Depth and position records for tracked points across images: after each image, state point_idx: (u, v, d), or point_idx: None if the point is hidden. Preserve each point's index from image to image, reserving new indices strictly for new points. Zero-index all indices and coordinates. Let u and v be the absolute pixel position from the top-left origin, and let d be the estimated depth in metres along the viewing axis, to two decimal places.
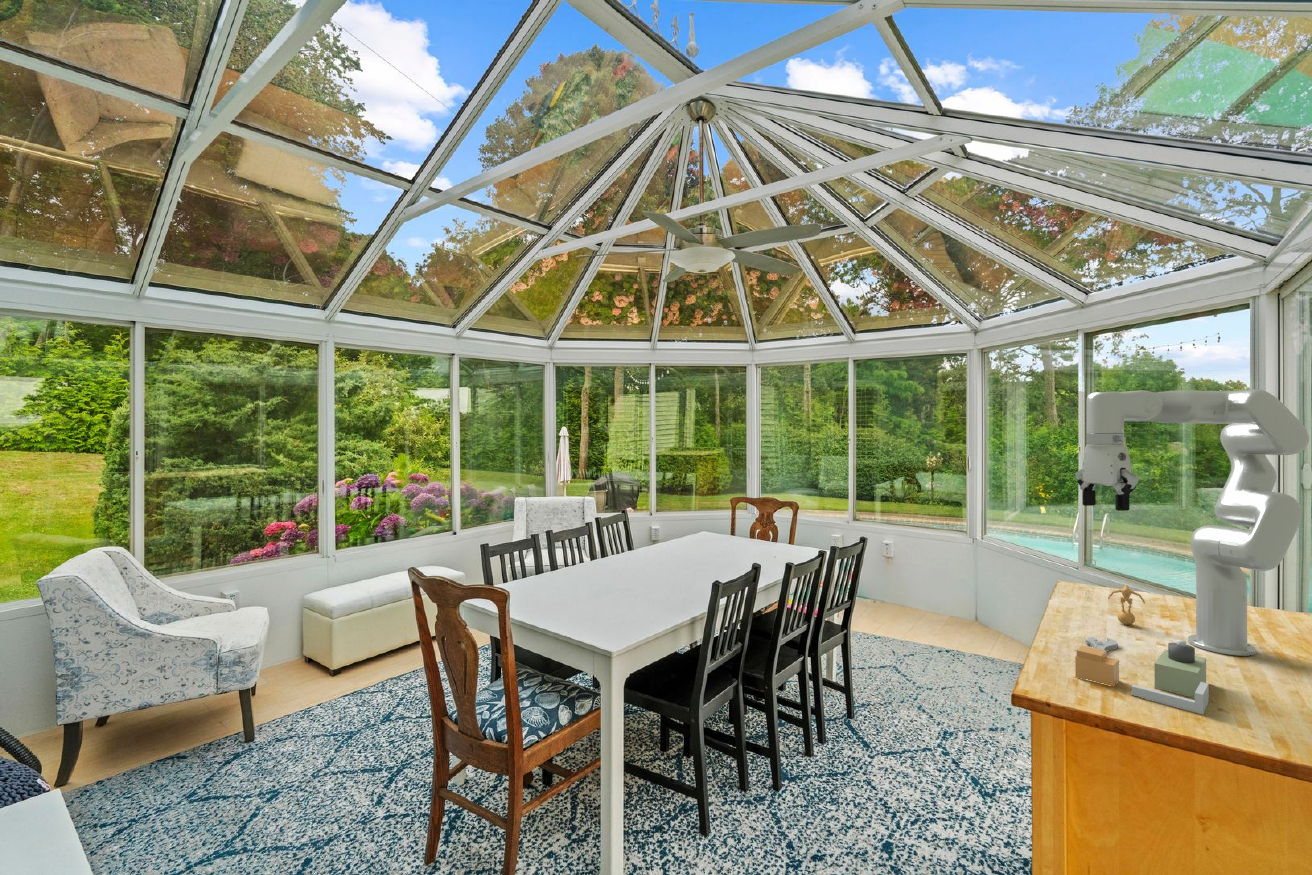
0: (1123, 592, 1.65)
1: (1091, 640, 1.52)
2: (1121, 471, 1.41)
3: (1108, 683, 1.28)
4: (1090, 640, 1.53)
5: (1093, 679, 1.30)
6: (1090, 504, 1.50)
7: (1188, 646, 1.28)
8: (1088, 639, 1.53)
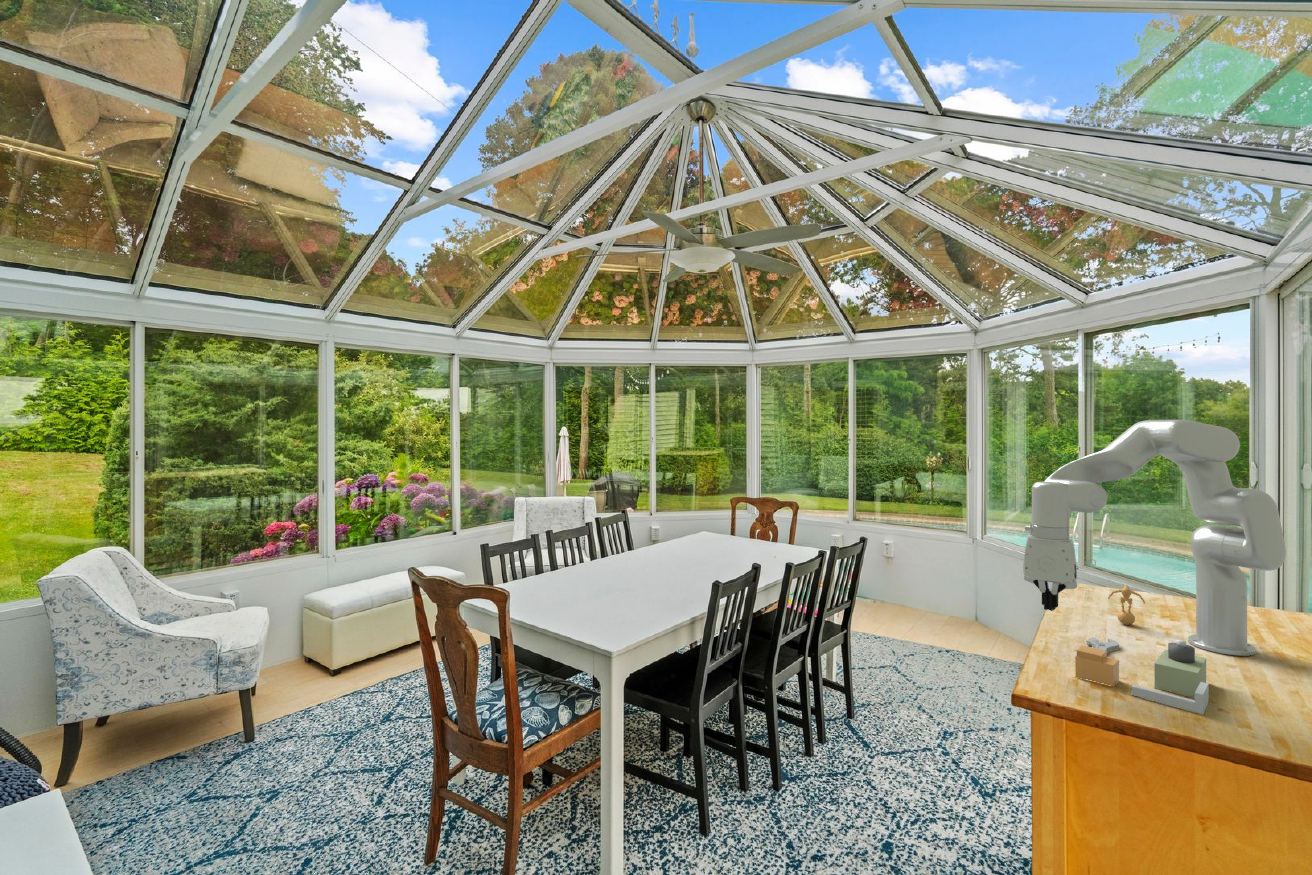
0: (1123, 592, 1.65)
1: (1092, 641, 1.52)
2: None
3: (1108, 683, 1.28)
4: (1091, 641, 1.52)
5: (1093, 679, 1.30)
6: None
7: (1188, 646, 1.28)
8: (1089, 640, 1.53)
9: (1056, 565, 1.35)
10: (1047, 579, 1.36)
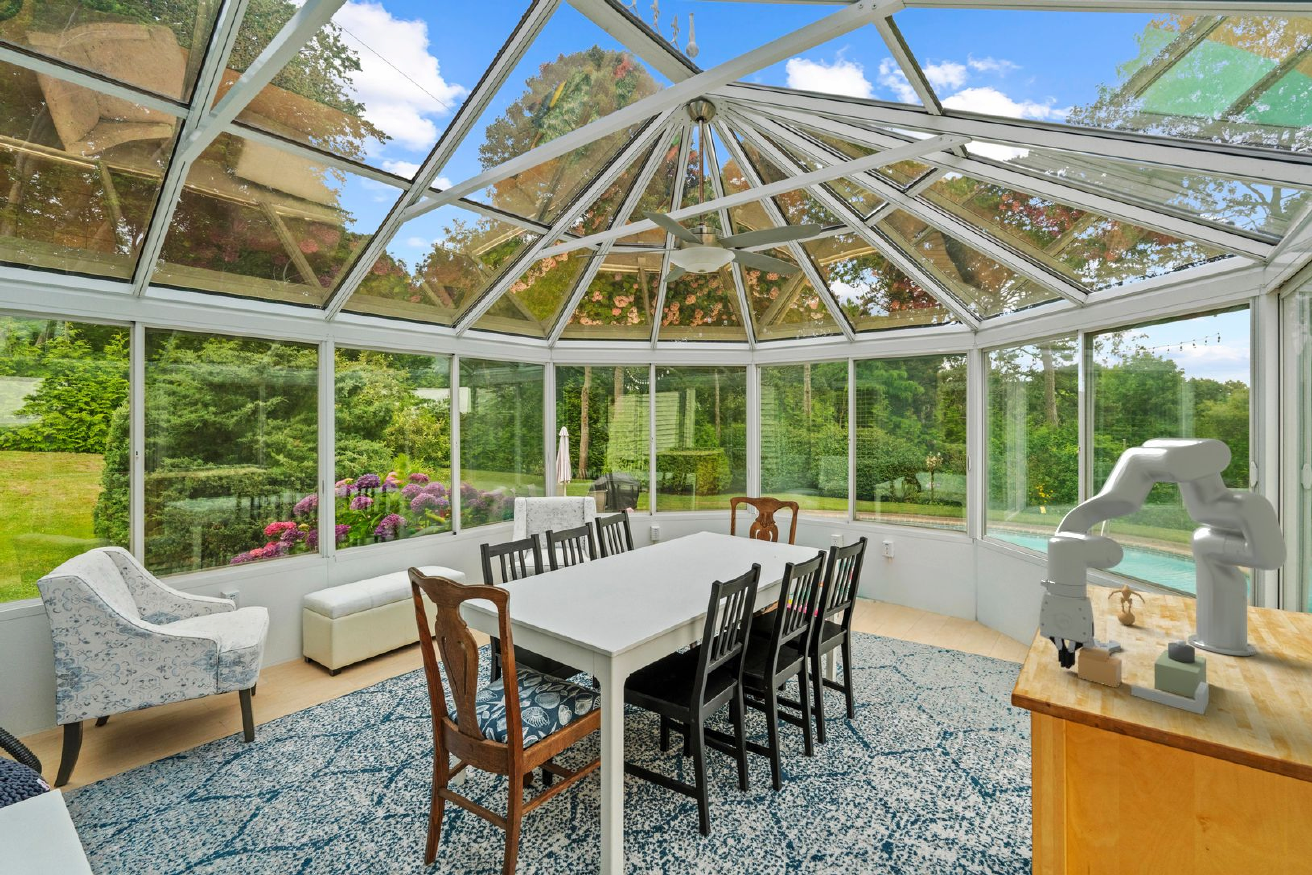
0: (1123, 592, 1.65)
1: (1094, 642, 1.51)
2: None
3: (1111, 683, 1.28)
4: None
5: (1096, 679, 1.30)
6: None
7: (1188, 646, 1.28)
8: None
9: (1073, 623, 1.33)
10: (1064, 637, 1.34)
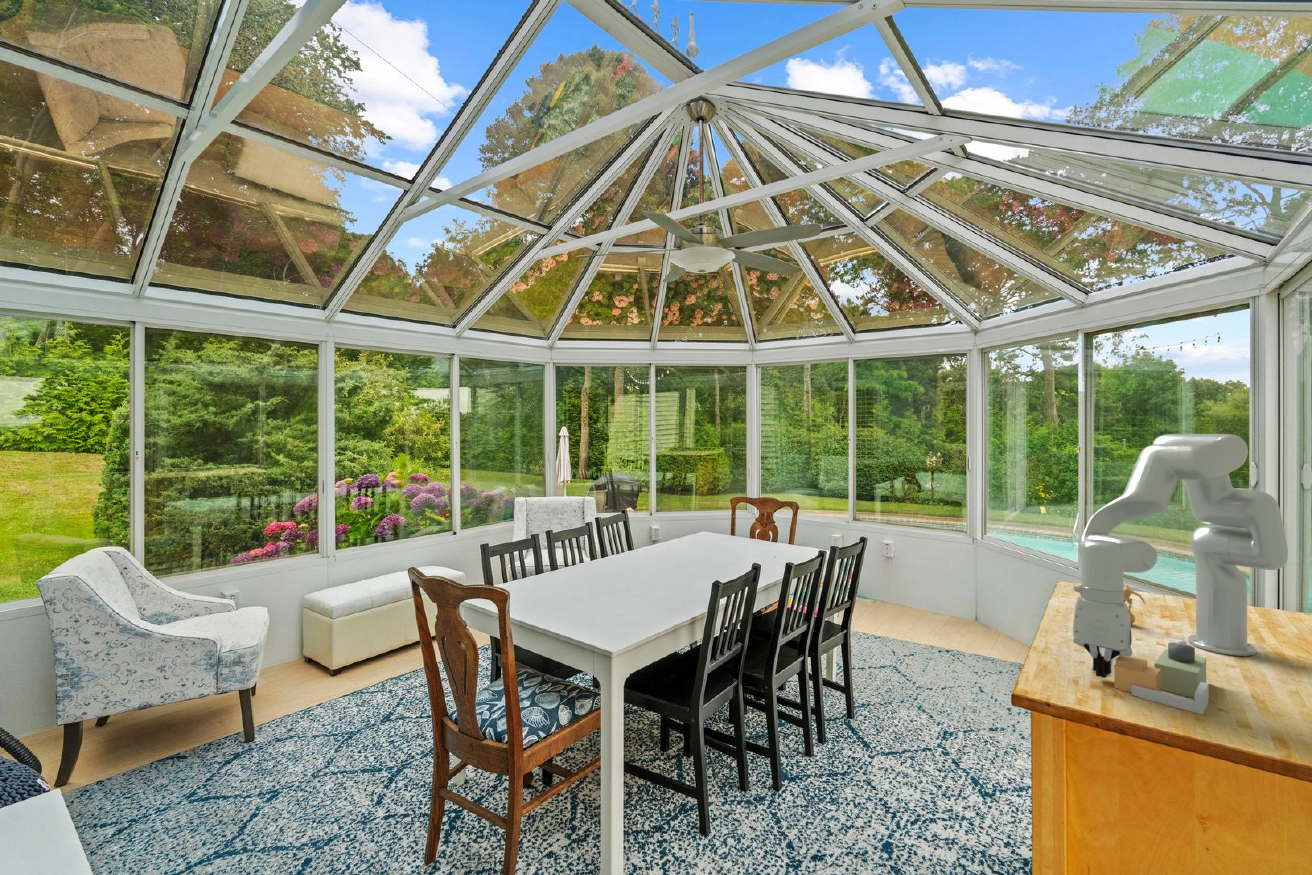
0: (1123, 592, 1.65)
1: None
2: None
3: None
4: None
5: None
6: None
7: (1188, 646, 1.28)
8: None
9: (1110, 631, 1.27)
10: (1100, 645, 1.29)
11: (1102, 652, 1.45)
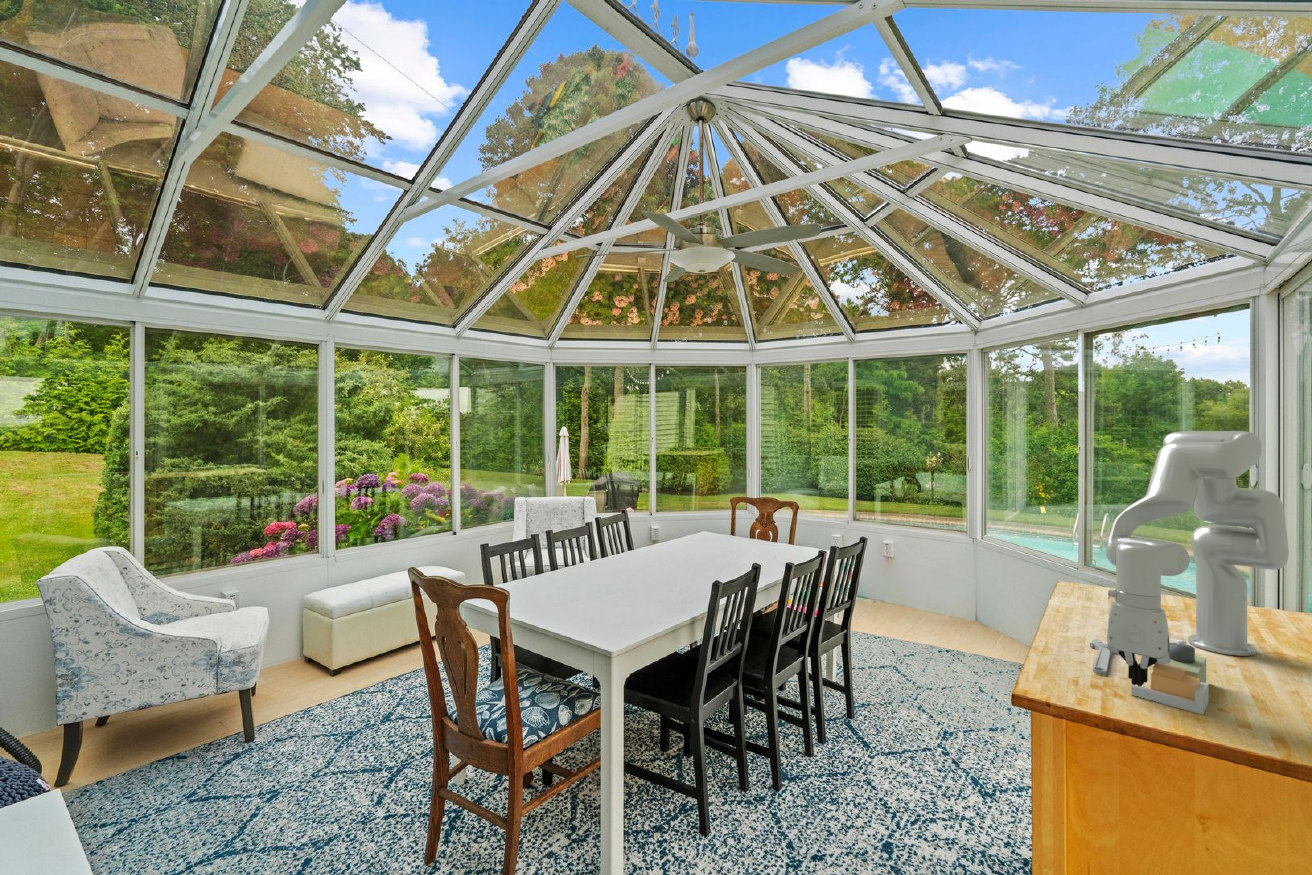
0: None
1: (1096, 643, 1.51)
2: None
3: None
4: (1095, 643, 1.51)
5: None
6: None
7: (1188, 646, 1.28)
8: (1092, 642, 1.51)
9: (1147, 637, 1.23)
10: (1136, 652, 1.24)
11: (1103, 652, 1.44)
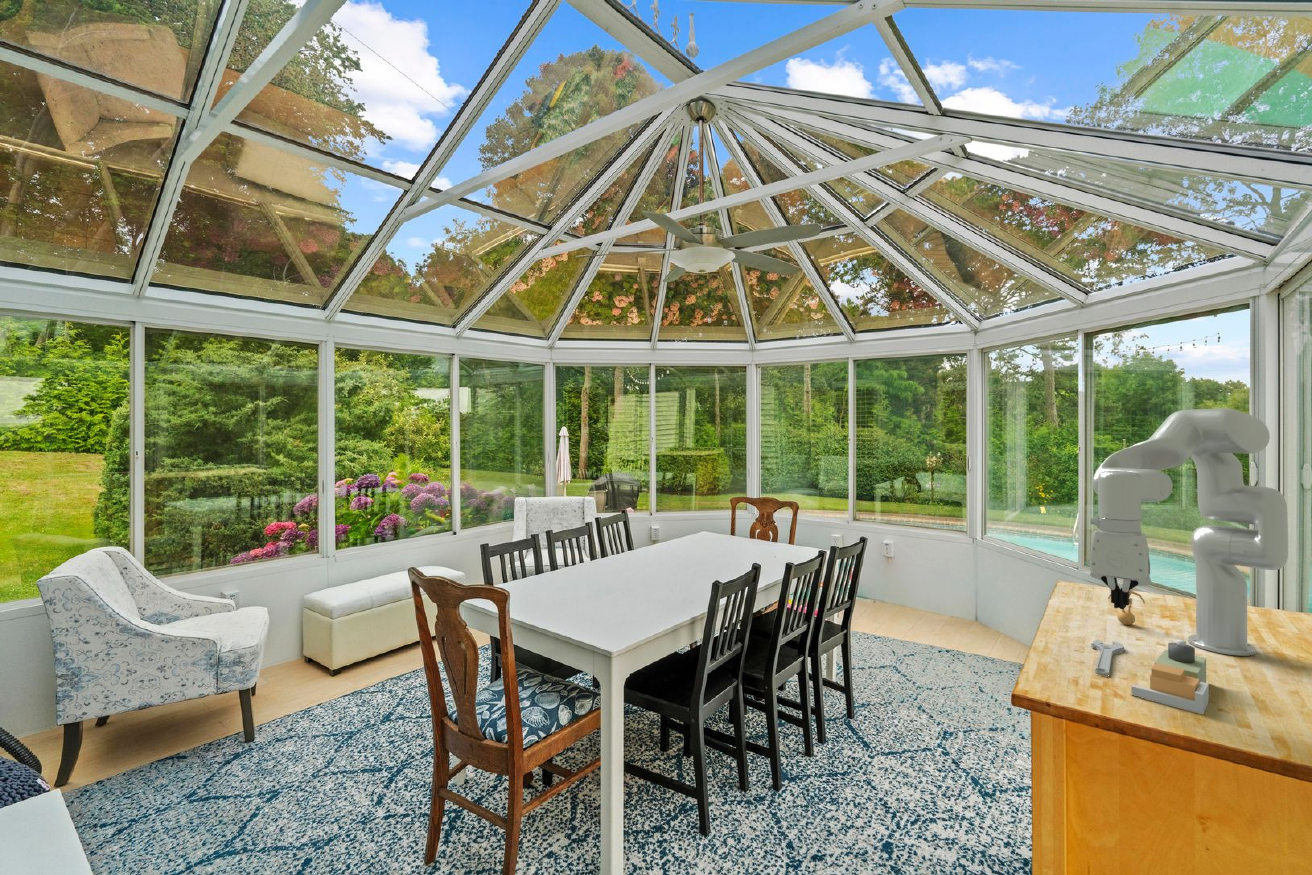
0: None
1: (1097, 643, 1.50)
2: None
3: None
4: (1096, 643, 1.50)
5: None
6: None
7: (1188, 646, 1.28)
8: (1094, 642, 1.51)
9: (1128, 560, 1.26)
10: (1118, 575, 1.27)
11: (1105, 653, 1.44)
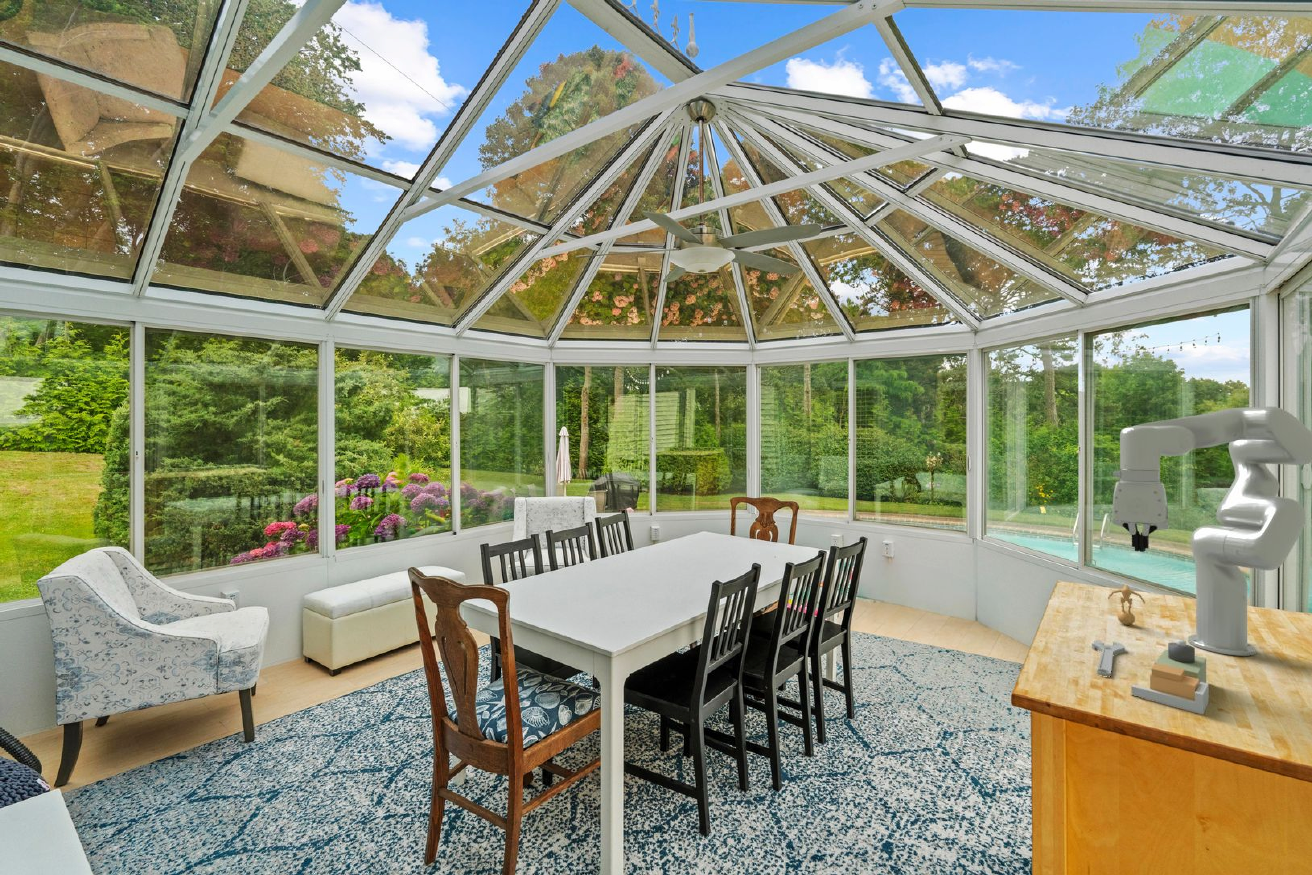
0: (1123, 592, 1.65)
1: (1098, 644, 1.50)
2: None
3: None
4: (1097, 644, 1.50)
5: None
6: None
7: (1188, 646, 1.28)
8: (1095, 643, 1.50)
9: (1148, 507, 1.39)
10: (1138, 521, 1.40)
11: (1106, 654, 1.44)
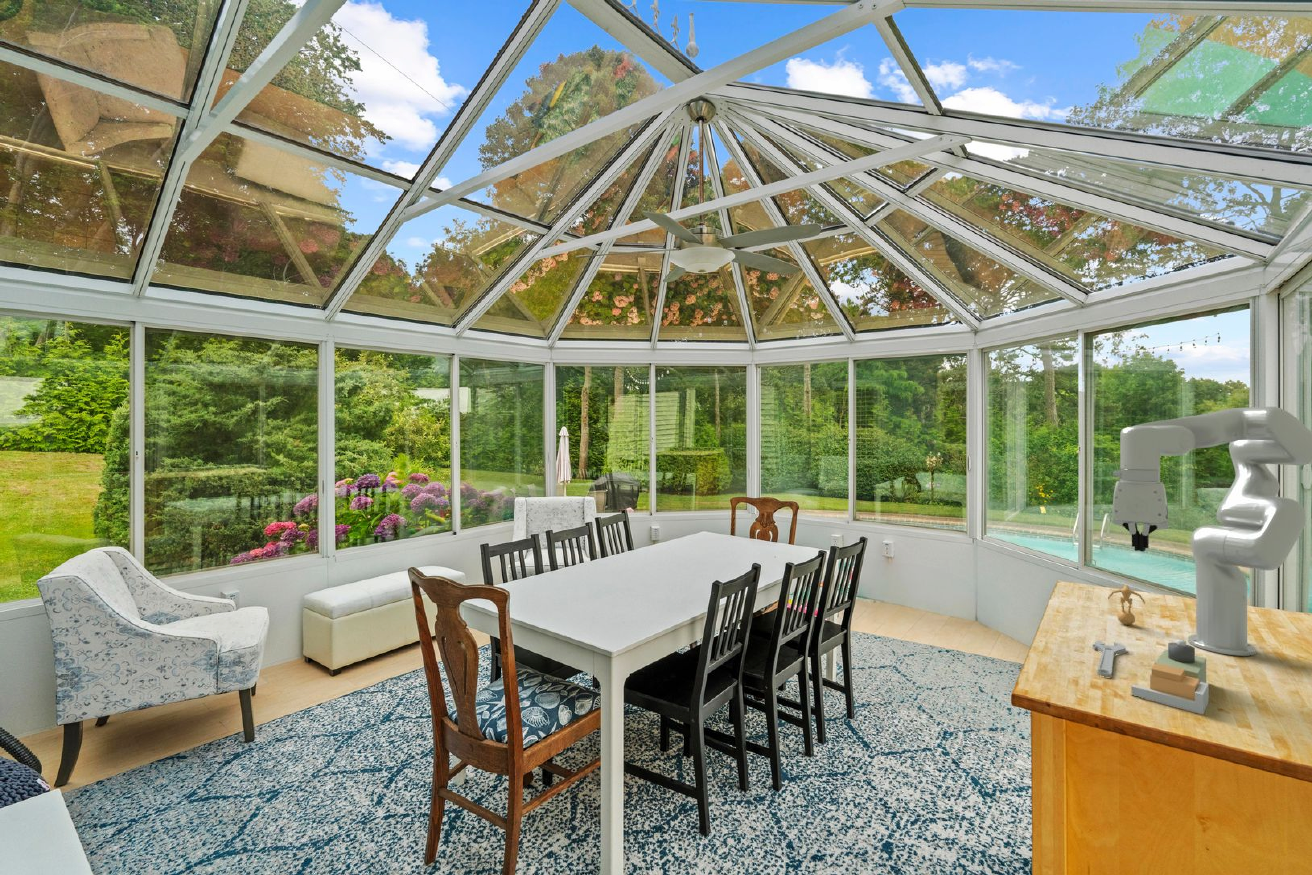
0: (1123, 592, 1.65)
1: (1098, 644, 1.49)
2: None
3: None
4: (1098, 644, 1.49)
5: None
6: None
7: (1188, 646, 1.28)
8: (1095, 643, 1.50)
9: (1148, 506, 1.39)
10: (1138, 520, 1.40)
11: (1107, 654, 1.43)
